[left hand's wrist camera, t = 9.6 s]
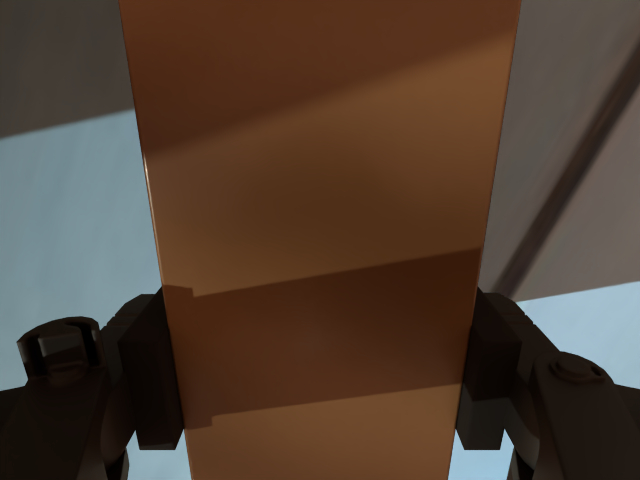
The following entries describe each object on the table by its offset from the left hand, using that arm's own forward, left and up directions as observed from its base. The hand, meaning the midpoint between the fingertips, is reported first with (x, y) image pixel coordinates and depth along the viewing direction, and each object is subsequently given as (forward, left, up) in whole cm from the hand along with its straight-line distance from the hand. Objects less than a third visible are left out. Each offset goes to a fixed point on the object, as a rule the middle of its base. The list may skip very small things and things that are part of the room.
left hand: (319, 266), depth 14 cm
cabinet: (+3, -3, -4) cm, 6 cm away
